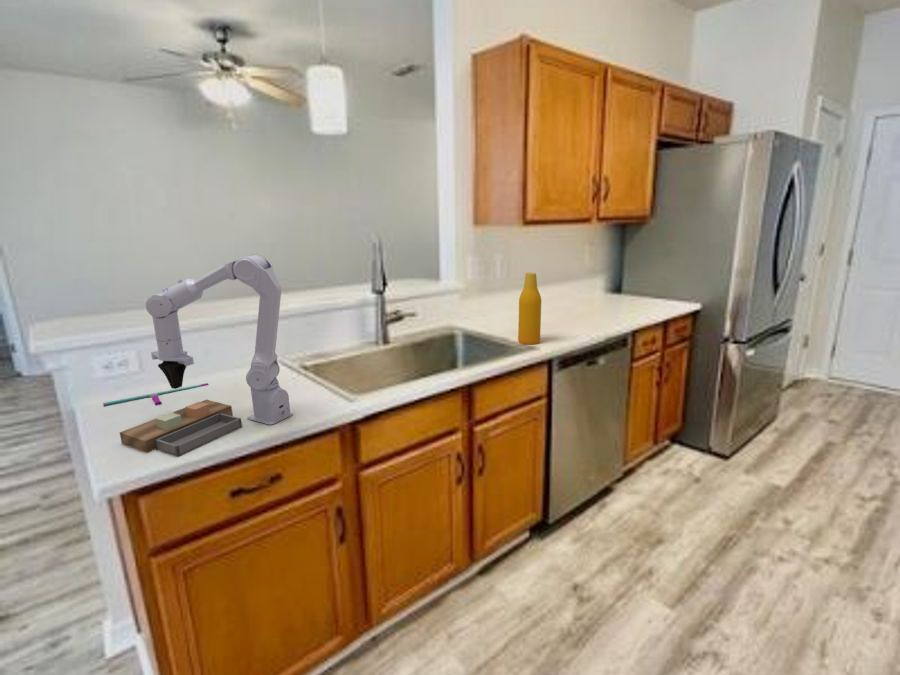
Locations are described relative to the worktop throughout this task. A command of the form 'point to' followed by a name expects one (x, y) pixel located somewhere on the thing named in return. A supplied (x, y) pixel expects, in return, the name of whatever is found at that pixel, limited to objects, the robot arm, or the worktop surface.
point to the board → (149, 432)
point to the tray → (197, 434)
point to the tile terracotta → (197, 410)
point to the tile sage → (168, 421)
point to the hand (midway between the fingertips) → (176, 387)
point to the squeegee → (150, 396)
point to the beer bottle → (529, 312)
